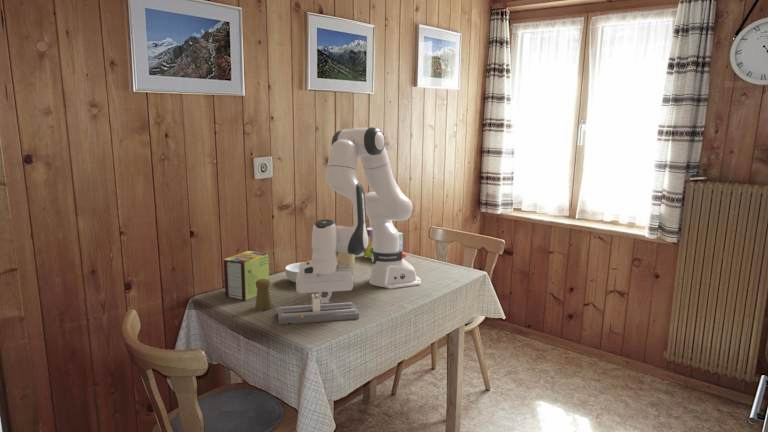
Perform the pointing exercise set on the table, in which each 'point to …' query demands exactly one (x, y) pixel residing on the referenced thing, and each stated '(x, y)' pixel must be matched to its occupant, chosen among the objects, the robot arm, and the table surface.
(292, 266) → the cereal bowl
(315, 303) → the fader tab
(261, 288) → the cork
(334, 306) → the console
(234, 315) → the table surface
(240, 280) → the protein box
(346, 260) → the coffee cup
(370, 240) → the snack box
